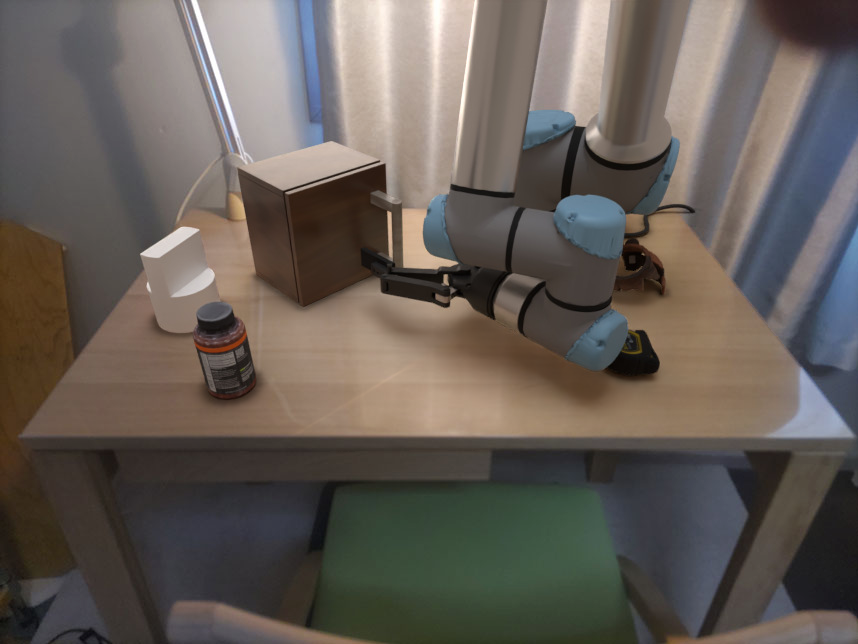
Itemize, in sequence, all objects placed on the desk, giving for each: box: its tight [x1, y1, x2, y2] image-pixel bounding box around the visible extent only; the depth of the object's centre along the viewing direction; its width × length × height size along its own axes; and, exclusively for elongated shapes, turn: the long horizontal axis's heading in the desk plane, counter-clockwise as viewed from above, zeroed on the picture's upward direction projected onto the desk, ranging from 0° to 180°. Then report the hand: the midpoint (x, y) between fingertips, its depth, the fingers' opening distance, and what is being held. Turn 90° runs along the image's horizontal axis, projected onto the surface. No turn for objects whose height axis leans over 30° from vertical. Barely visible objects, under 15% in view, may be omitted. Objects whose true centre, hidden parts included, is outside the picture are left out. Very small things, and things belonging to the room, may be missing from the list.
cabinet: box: [236, 140, 381, 305], centre depth 93 cm, size 12×17×18 cm
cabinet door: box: [284, 161, 404, 307], centre depth 88 cm, size 7×17×18 cm, turn 134°
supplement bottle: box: [192, 301, 257, 400], centre depth 72 cm, size 6×6×11 cm
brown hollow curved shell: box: [613, 237, 667, 295], centre depth 94 cm, size 12×10×8 cm
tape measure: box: [606, 329, 661, 377], centre depth 78 cm, size 7×7×4 cm
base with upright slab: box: [139, 226, 222, 334], centre depth 84 cm, size 9×9×12 cm
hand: (397, 240), depth 90 cm, fingers open, 13 cm apart
